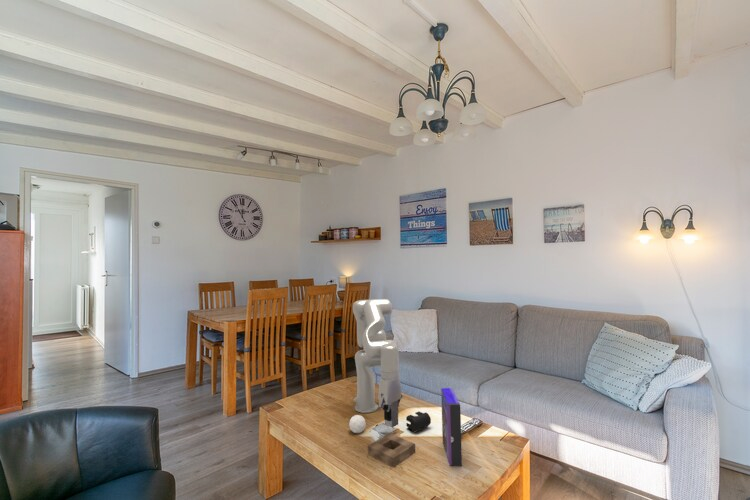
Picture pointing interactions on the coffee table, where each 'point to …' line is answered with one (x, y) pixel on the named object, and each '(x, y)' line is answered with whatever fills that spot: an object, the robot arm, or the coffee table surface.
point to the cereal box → (451, 426)
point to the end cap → (418, 421)
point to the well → (391, 457)
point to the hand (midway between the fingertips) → (391, 417)
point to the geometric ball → (357, 423)
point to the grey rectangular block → (393, 415)
